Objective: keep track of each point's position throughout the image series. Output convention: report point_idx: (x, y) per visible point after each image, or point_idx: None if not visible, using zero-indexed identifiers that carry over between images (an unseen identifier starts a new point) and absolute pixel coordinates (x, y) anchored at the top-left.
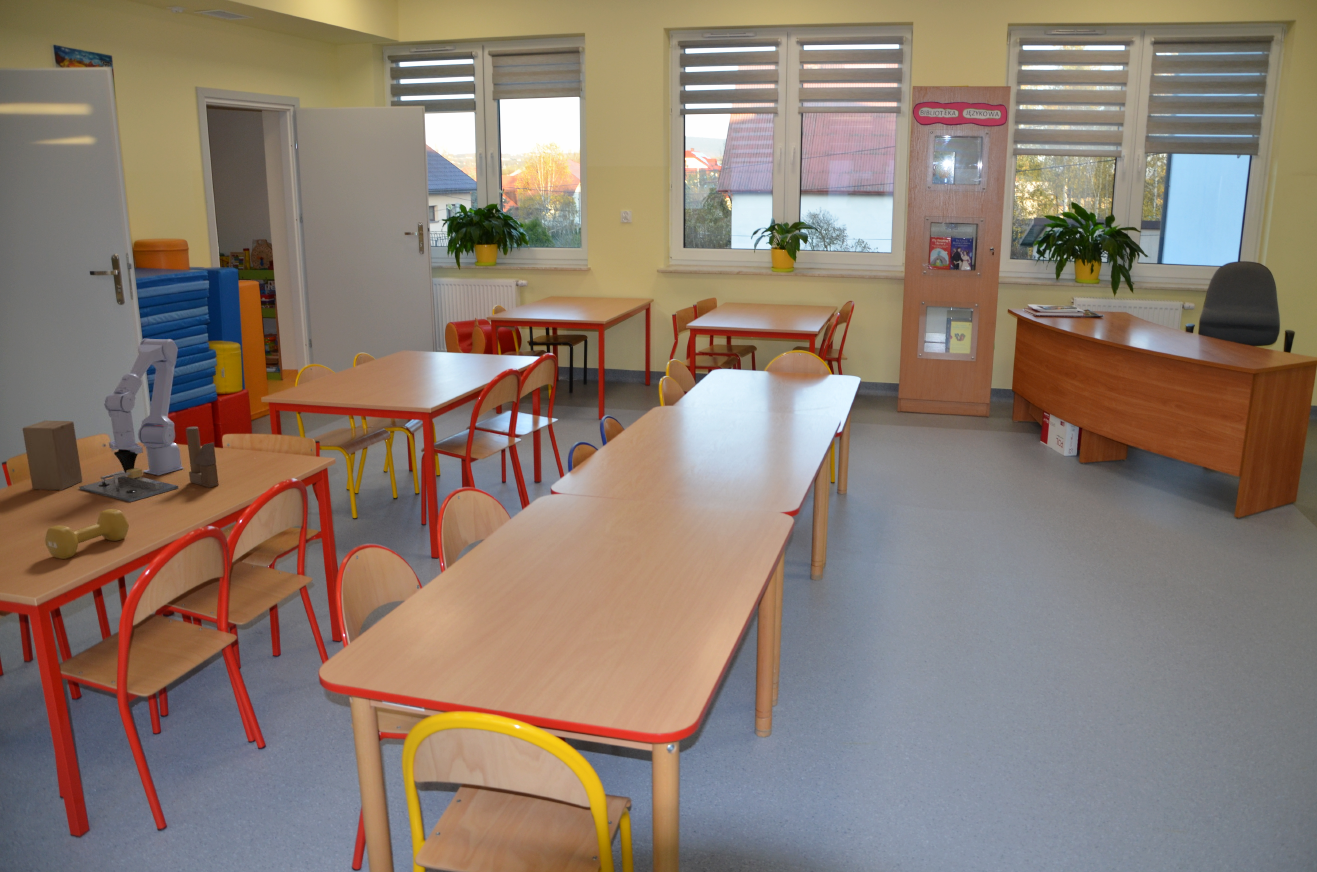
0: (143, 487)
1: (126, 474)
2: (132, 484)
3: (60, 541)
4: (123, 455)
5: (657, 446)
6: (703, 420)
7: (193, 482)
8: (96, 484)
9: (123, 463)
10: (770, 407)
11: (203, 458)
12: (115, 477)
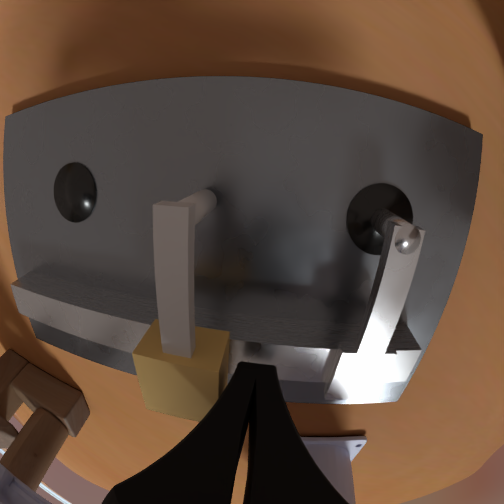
0: (93, 278)
1: (164, 316)
2: (200, 302)
3: None
4: (109, 497)
5: (4, 450)
6: (43, 485)
7: (61, 383)
8: (436, 209)
9: (234, 428)
10: (51, 493)
11: None
12: (159, 204)
